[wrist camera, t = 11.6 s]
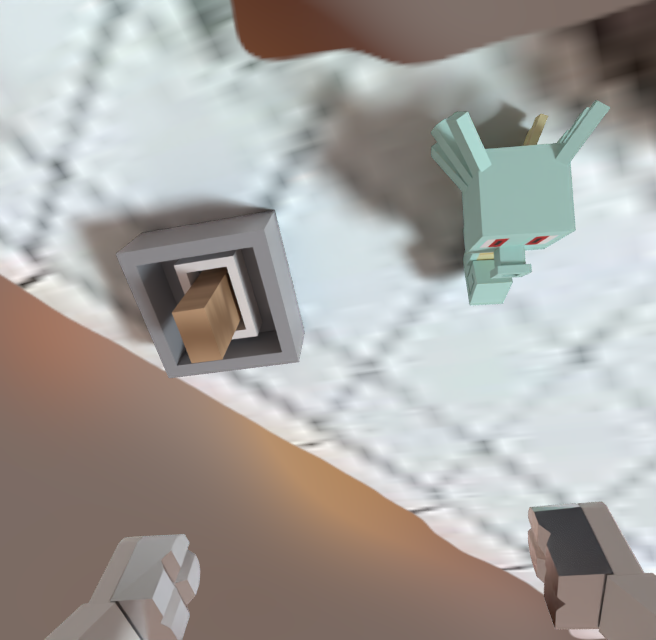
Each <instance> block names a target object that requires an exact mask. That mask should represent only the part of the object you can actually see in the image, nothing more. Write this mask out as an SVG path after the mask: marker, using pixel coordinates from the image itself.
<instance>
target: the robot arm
mask: <svg viewBox="0 0 656 640" xmlns="http://www.w3.org/2000/svg"><path fill="white" fill-rule="evenodd" d="M528 519H529V522H530V525H531V527H532V528H531V529H530V530H529V531H528V544H529V550H530V556H531V560H532V563H533V567H534V570H535V573H536V576H537V577H538V578H539V579H540V580H541V581H542V582H544V599H545V602H546V605H547V608H548V610H549V613H550V616H551V619H552V622H553V625H554V628H555V629H599V632H600V633H601V634H602V635H603V636H604V637H605V638H606V639H607V640H656V575H655V574H653V573H644V571H643V570H642V568H641V566H640V564H639V562H638V561H637V559H636V557H635V555H634V553H633V552H632V550H631V548H630V546H629V544H628V543H627V541H626V539H625V537H624V536H623V534H622V532H621V530H620V528H619V527H618V525H617V523H616V521H615V519H614V518H613V516H612V514H611V512H610V511H609V509H608V507H607V505H605V504H604V503H603V502H589V503H578V504H576V503H570V504H559V505H548V506H537V507H530V508H529V510H528ZM188 545H189V541H188V540H187V538H186V536H185V534H180V535H159V536H140V537H126V538H124V539H123V540H122V541H121V542H120V543H119V544H118V546H117V548H116V550H115V552H114V554H113V556H112V558H111V560H110V562H109V564H108V565H107V568H106V569H105V571H104V573H103V575H102V577H101V579H100V581H99V583H98V585H97V587H96V589H95V591H94V593H93V596H92V598H91V599H90V601H89V603H88V604H82V605H81V606H80V607H79V608H78V609H77V610H76V611H75V612H74V613H73V614H71V615H70V616H69V617H68V618H67V619H66V620H65V621H64V622H63V623H62V624H61V625H60V626H58V627H57V628H56V629H55V630H54V631H53V632H52V633H51V634H50V635H49V636H48V637H46V638H45V639H44V640H182V638H183V635H184V632H185V629H186V625H187V622H188V619H189V616H190V614H189V611H188V608H187V604H188V603H189V602H190V601H191V600H192V599H193V598H194V597H195V596H196V592H197V589H198V586H199V579H200V567H199V561H198V559H197V557H196V555H195V554H194V553H192V552H191V551H189V550H187V548H188Z"/></svg>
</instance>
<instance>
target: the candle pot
mask: <svg viewBox="0 0 656 640" xmlns="http://www.w3.org/2000/svg"><path fill="white" fill-rule="evenodd" d="M116 256H117V258H118V261H119V263H120V265H121V268H122V270H123V272H124V275H125V277H126V279H127V282H128V284H129V286H130V289H131V291H132V293H133V296H134V298H135V300H136V303H137V305H138V307H139V310H140V312H141V314H142V317H143V319H144V321H145V324H146V326H147V328H148V331H149V333H150V335H151V338H152V340H153V342H154V345H155V347H156V349H157V352H158V354H159V356H160V359H161V361H162V363H163V366H164V368H165V370H166V373H167V375H168V377H169V378H175V377H183V376H191V375H199V374H207V373H215V372H223V371H231V370H239V369H247V368H255V367H263V366H272V365H280V364H288V363H296V362H299V359H300V354H301V349H302V344H303V339H304V334H305V331H304V327H303V323H302V319H301V315H300V311H299V307H298V303H297V299H296V294H295V290H294V286H293V282H292V278H291V274H290V270H289V266H288V262H287V258H286V254H285V250H284V246H283V242H282V237H281V233H280V229H279V225H278V221H277V217H276V213H275V210H272V211H266V212H261V213H255V214H249V215H243V216H237V217H232V218H226V219H220V220H214V221H209V222H203V223H197V224H191V225H185V226H180V227H174V228H168V229H162V230H157V231H151V232H145V233H141V234H140V235H139V236H137V237H136V238H135V239H134V240H132V241H131V242H130V243H129V244H128V245H126V246H125V247H124V248H123V249H121V250H120V251H119V252H118V253H116ZM220 267H227V270H228V273H229V276H230V279H231V282H232V285H233V289H234V292H235V295H236V298H237V301H238V305H239V308H240V311H241V314H242V317H241V320H240V322H239V324H238V326H237V328H236V331H235V333H234V335H233V337H232V339H231V342H230V344H229V346H228V348H227V350H226V353H225V355H224V357H223V359H222V360H214V361H206V362H199V363H191V361H190V358H189V355H188V353H187V350H186V348H185V345H184V343H183V340H182V338H181V335H180V332H179V330H178V327H177V325H176V322H175V320H174V317H173V315H172V312H173V310H174V309H175V308H176V306H177V305H178V303H179V302H180V301H181V299H182V298H183V297H184V295H185V294H186V293H187V291H188V290H189V289H190V287H191V286H192V284H193V283H194V282H195V280H196V279H197V278H198V276H199V275H200V274H201V272H202V271H203V270H208V269H214V268H220Z"/></svg>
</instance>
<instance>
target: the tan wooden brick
mask: <svg viewBox="0 0 656 640" xmlns="http://www.w3.org/2000/svg"><path fill="white" fill-rule="evenodd" d="M172 315H173V317H174V320H175V322H176V325H177V327H178V330H179V332H180V335H181V338H182V340H183V343H184V345H185V348H186V350H187V353H188V355H189V358H190V361H191V363H199V362H206V361H214V360H222V359H223V357H224V355H225V353H226V350H227V348H228V346H229V344H230V342H231V339H232V337H233V335H234V333H235V331H236V328H237V326H238V324H239V322H240V320H241V317H242V314H241V311H240V308H239V305H238V301H237V298H236V295H235V292H234V289H233V285H232V282H231V279H230V276H229V273H228V270H227V267H220V268H214V269H208V270H203V271H202V272H201V274H200V275H199V276H198V278H197V279H196V280H195V282H194V283H193V284H192V286H191V287H190V289H189V290H188V291H187V293H186V294H185V295H184V297H183V298H182V299H181V301H180V302H179V303H178V305H177V306H176V308H175V309H174V310H173V312H172Z"/></svg>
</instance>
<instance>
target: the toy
mask: <svg viewBox="0 0 656 640" xmlns="http://www.w3.org/2000/svg"><path fill="white" fill-rule="evenodd" d="M609 109H610V107H609V106H607V105H605V104H603V103H601V102H599V101H597V100H595V101H594V103H593V104H592V105H591V107H590V108H588V107H587V108H586V109H585V110H584V111H583V112H582V113H581V114H580V115H579V117H578V118H577V120H576V121H575V122H574V124H573V125H572V127H571V128H570V130H567V131H566V132H565V133H564V135H563V136H562V137H561V138H560V139H559V141H558V142H557V143H553V144H541V145H537V142H538V140H539V137H540V135H541V133H542V130H543V128H544V125H545V123H546V120H547V118H548V116H547V115H544V114H540V115H538V116H537V117H536V118H535V121H534V123H533V126H532V128H531V129H530V130H529V131H528V133H527V135H526V138H525V141H524V143H523V146H516V147H504V148H492V149H485V148H484V146H483V144H482V142H481V140H480V137H479V135H478V133H477V131H476V128H475V126H474V124H473V122H472V120H471V117H470V115H469V113H468V112H456V113H454V114H453V115H452V116H450V117H449V118H448V119H444V120H443V121H441V122H440V123H438V124H437V125H436V126H435V127H434V129H433V130H432V132H431V134H432V135H433V137H434V138H435V140H436V141H437V143H436V144H434V145H433V146H432V147H431V157H432V158H433V159H434V160H435V161H436V163H437V164H438V165H439V166H440V167H441V168H442V169H443V171H444V172H445V173H446V174H447V175H448V176H449V177H450V178H451V180H452V181H453V182H454V183H455V184H456V185H457V186H458V187H459V189H460V190H461V191H462V202H463V218H464V228H463V234H464V243H465V253H464V257H463V265H464V271H465V278H466V284H467V291H468V297H469V304H470V305H488V304H503V302H504V300H505V298H506V295H507V293H508V291H509V289H510V287H511V285H512V283H513V281H512V277H522V276H525V275H527V274H529V273H531V272H532V269H531V264H526V262H525V250H538V249H545V248H546V247H548V246H550V245H551V244H553V243H555V242H557V241H558V240H560V239H562V238H563V237H565V236H567V235H569V234H570V233H572V232H574V231H575V230H576V229H575V216H574V203H573V190H572V177H571V164H570V162H571V160H572V159H573V158H574V156H575V155H576V153H577V152H578V151H579V149H580V148H581V147H582V145H583V144H584V143H585V141H586V140H587V139H588V137H589V136H590V135H591V133H592V132H593V131H594V129H595V128H596V127H597V125H598V124H599V122H600V121H601V120H602V118H603V117H604V116H605V114H606V113H607V112H608V110H609Z"/></svg>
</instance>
